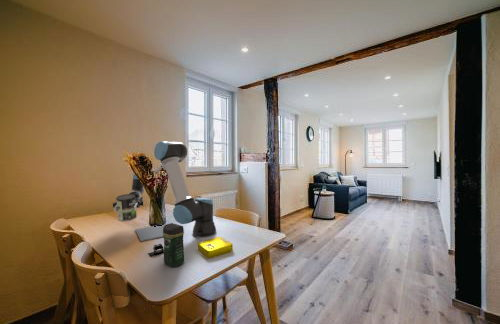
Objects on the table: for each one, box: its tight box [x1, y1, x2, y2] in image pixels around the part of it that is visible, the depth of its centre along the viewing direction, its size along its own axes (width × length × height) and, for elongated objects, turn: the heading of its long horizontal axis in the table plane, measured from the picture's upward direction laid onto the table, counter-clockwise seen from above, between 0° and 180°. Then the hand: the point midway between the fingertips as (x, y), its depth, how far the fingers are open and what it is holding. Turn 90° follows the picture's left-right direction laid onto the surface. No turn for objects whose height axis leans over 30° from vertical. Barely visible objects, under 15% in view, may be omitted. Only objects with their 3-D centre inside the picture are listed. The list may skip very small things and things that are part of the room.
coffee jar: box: [163, 222, 185, 268], centre depth 105 cm, size 10×8×19 cm
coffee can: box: [115, 193, 138, 223], centre depth 137 cm, size 10×10×14 cm
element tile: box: [196, 236, 234, 260], centre depth 119 cm, size 15×15×5 cm
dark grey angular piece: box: [147, 243, 164, 258], centre depth 117 cm, size 12×7×5 cm, turn 126°
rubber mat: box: [134, 223, 167, 243], centre depth 148 cm, size 26×20×1 cm
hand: (124, 209), depth 133 cm, fingers closed on coffee can, 10 cm apart
